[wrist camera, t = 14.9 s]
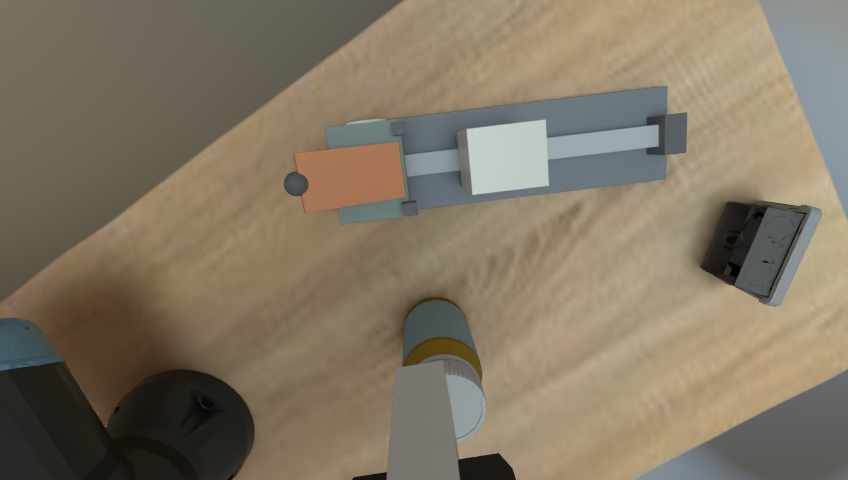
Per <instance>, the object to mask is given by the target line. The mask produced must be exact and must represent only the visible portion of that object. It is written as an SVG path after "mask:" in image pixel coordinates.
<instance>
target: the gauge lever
mask: <svg viewBox="0 0 848 480" xmlns="http://www.w3.org/2000/svg"><path fill="white" fill-rule="evenodd" d="M294 159H295V165H296V170H297V172H292V173H290V174H288V175H287V176H286V178H285V180H284V187H285V189H286V191H287V192H288V193H289V194H291V195H293V196H301V197H302V202H303V208H304V212H305V213H310V212H316V211H322V210H329V209H335V208H341V207H347V206H353V205H359V204H365V203H371V202H377V201H383V200H389V199H395V198H401V197H405V190H404V182H403V174H402V166H401V158H400V151H399V143H398V142H391V143H383V144H374V145H365V146H356V147H348V148H339V149H330V150H321V151H312V152H304V153H295V154H294Z"/></svg>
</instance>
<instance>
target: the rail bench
mask: <svg viewBox="0 0 848 480" xmlns="http://www.w3.org/2000/svg"><path fill="white" fill-rule="evenodd" d="M667 88H668V86H663V87H655V88H646V89H638V90H630V91H621V92H613V93H605V94H597V95H588V96H580V97H572V98H563V99H555V100H547V101H539V102H530V103H522V104H514V105H505V106H497V107H489V108H480V109H472V110H464V111H456V112H447V113H439V114H431V115H422V116H414V117H406V118H398V119H389V120H386V119H370V120H361V121H354V122H349V123H345V125H339V126H334V127H326V128H325V132H326V138H327V144H328V150H330V149H339V148H348V147H356V146H365V145H374V144H383V143H391V142H398V143H399V151H400V158H401V166H402V174H403V182H404V190H405V197H401V198H395V199H389V200H383V201H377V202H371V203H365V204H359V205H353V206H347V207H341V208H338V210H339V216H340V222H341V224H349V223H358V222H366V221H374V220H382V219H391V218H399V217H407V216H412V215H418V211H417V209H423V208H432V207H440V206H448V205H456V204H465V203H473V202H481V201H489V200H498V199H506V198H514V197H523V196H531V195H539V194H547V193H556V192H564V191H572V190H581V189H589V188H597V187H605V186H614V185H622V184H630V183H639V182H647V181H655V180H663V179H666V155H670V154H678V153H686V136H687V112H686V113H678V114H669V115H667ZM545 119H546V134H547V155H548V175H549V186H542V187H534V188H526V189H518V190H509V191H501V192H493V193H484V194H476V195H472V194H471V193H470V192H468V191H467V190H466V189H465V188H463V187H462V186H461V185H460V183H459V174H461V171H460V160H459V150H458V143H457V144H456V142H455V133H456V132H459V131H462V130H465V129H471V128H479V127H487V126H495V125H504V124H512V123H520V122H529V121H537V120H545Z"/></svg>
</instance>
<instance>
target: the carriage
mask: <svg viewBox="0 0 848 480" xmlns="http://www.w3.org/2000/svg"><path fill="white" fill-rule="evenodd" d="M455 142H456V144H457V143H458V150H459V160H460V171H461V174H459V183H460V185H461V186H462V187H463V188H465V189H466V190H467V191H468V192H470V193H471V194H472V195H476V194H484V193H493V192H501V191H509V190H518V189H526V188H534V187H542V186H549V175H548V155H547V134H546V119H545V120H537V121H529V122H520V123H512V124H504V125H495V126H487V127H479V128H471V129H465V130H462V131H459V132H456V133H455Z"/></svg>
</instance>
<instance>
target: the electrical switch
mask: <svg viewBox="0 0 848 480" xmlns="http://www.w3.org/2000/svg"><path fill="white" fill-rule="evenodd" d="M749 211H750V212H749ZM748 212H749V214H748ZM821 216H822V213H821V210H820V209H818V208H815V207H812V206H807V205H801V206H795V205H788V204H781V203H774V202H766V201H759V202H757V203H755V205H754V204H745V203H737V202H732V203H730V202H728V203H727V206H726V208H725V210H724V213H723V215H722V218H721V220H720V223H719V225H718V228H717V230H716V232H715V235H714V237H713V240H712V242H711V245H710V247H709V250H708V252H707V254H706V257H705V259H704V262H703V264H702V267H701V268H703V270H705V269H706V270H705V271H707V272H708V273H710V274H712V275H714V276H716V277H718V278H720V279H721V280H723V281H724V283H726V284H728V285H733V286H735V287H736V288H738V289H740V290H742V291H744V292H746V293H748V294H750V295H751V296H753V297H755V298H757V299H759V302H761V303H763V304H765V305H770V306H774V307H776V306H778V305H780V304H781V303H782V301H783V299H784V296H785V294H786V292H787V290H788V288H789V286H790V283H791V281H792V279H793V277H794V275H795V273H796V270H797V268H798V266H799V264H800V262H801V260H802V257H803V255H804V253H805V251H806V249H807V247H808V244H809V242H810V240H811V238H812V236H813V234H814V231H815V229H816V227H817V225H818V223H819V221H820V218H821ZM728 230H729V231H736V232H729V231H728ZM739 231H740V232H739ZM738 233H739V234H738ZM729 236H737V237H738V238H737V240H736V242H735V244H734V245H733V244H731V243H728V242H727V238H728V237H729ZM720 246H726V247H728V248H730V249H731V250H730V249H727V248H725V247H720ZM715 248H716V249H715ZM714 249H715V250H714ZM717 264H718V265H717ZM724 269H725V271H724ZM709 270H710V271H709Z"/></svg>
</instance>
